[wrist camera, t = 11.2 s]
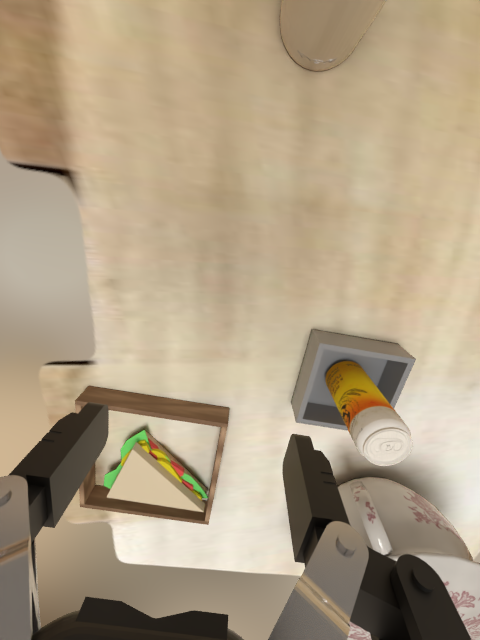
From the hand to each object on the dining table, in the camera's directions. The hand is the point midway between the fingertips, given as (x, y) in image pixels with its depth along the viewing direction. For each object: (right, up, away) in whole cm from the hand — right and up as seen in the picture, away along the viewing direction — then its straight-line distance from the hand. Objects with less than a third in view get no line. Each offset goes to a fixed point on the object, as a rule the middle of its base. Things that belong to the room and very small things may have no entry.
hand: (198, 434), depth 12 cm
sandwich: (-13, -24, +42) cm, 51 cm away
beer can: (+18, -4, +33) cm, 38 cm away
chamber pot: (+27, -31, +44) cm, 60 cm away
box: (+18, -4, +33) cm, 38 cm away
